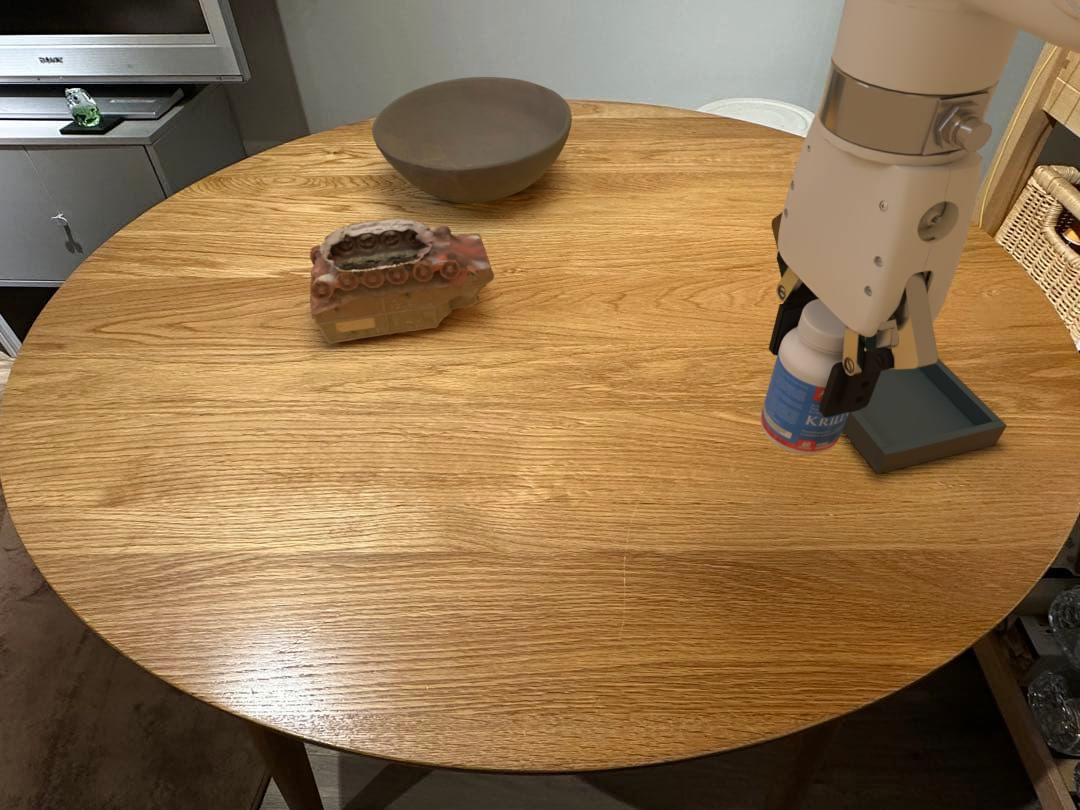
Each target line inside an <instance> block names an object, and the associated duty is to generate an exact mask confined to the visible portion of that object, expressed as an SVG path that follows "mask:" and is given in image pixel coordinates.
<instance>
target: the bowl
mask: <svg viewBox="0 0 1080 810" xmlns="http://www.w3.org/2000/svg"><path fill="white" fill-rule="evenodd" d="M572 122H573V116H572V109H571V107H570V105H569V104H568V102H567V101H566V99H565V98H563V97H562V96H561V95H560V94H559V93H557V92H556V91H555V90H552V89H550V88H548V87H545V86H543V85H539V84H537V83H534V82H531V81H527V80H523V79H518V78H510V77H501V76H500V77H498V76H471V77H460V78H459V77H458V78H453V79H447V80H443V81H439V82H436V83H431V84H427V85H425V86H422V87H419V88H416V89H413V90H411V91H409V92H407V93H405V94H403V95H401V96H399V97H397V99H394V100H393V101H391V103H389V104H388V105H387V106H386V107H384V109H382V111H380V112H379V114H378V115H377V116H376V118H375V119H374V121H373V123H372V127H371V134H372V138H373V140H374V143H375V145H376V147H377V149H378V150H379V152H380V153H381V155H382V156H383V158H384V159H385V161H387V163H388V164H389V165H390V166H391V167H392V168H393V169H394V170H395V171H396V172H397V173H398V174H399V175H400V176H401V177H402V178H403V179H405V180H406V181H407V182H408V183H410V184H411V185H413V186H414V187H416V188H417V189H419V190H422V191H423V192H425V193H427V194H429V195H431V196H434V197H437V198H439V199H441V200H445V201H448V202H452V203H455V204H465V205H466V204H467V205H469V204H471V205H472V204H474V205H475V204H483V203H488V202H493V201H498V200H501V199H505V198H508V197H510V196H513V195H516V194H517V193H520V192H522V191H524V190H525V189H527V188H528V187H530V186H531V185H533V184H535V183H536V182H537V181H538V180H539V179H540V178H541V177H542V176H543V175H545V173H546V172H547V171H548V170H549V169H550V168H551V167H552V165H553V164H554V163H555V162H556V161H557V159H558V157H559V156H560V155H561V153H562V152H563V149H564V147H565V146H566V144H567V141H568V139H569V135H570V131H571V128H572Z"/></svg>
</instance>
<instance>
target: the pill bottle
mask: <svg viewBox="0 0 1080 810" xmlns="http://www.w3.org/2000/svg"><path fill="white" fill-rule="evenodd" d="M844 332H845V324H844V323H843V322H842V321H841V320H840V319H839V318H838V317H837V316H836V315H835V314H834V313H833V312H832V311H831V310H830V309H829V308H828V307H827V306H826V305H825V304H824V303H823V302H822V301H821V300H820V299H816V300H813V301H811V302H809V303H808V304H807V305H806V306H805V307H804V309H803V311H802V314H801V317H800V321H799V324H798V327H796V328H794V329H792V330H791V331H790V332H788V333H787V334H786V335H785V337H784V338H783V340H782V342H781V345H780V348H779V352H778V355H776V358H775V362H774V366H773V370H772V373H771V377H770V380H769V384H768V387H767V391H766V395H765V399H764V401H763V405H762V410H761V414H760V427H761V429H762V431H763V433H764V435H765V436H766V438H767V439H768V440H769V441H770V442H771V443H773V445H775V446H776V447H778V448H780V449H781V450H784V451H787V452H789V453H792V454H795V455H803V456H811V455H819V454H823V453H825V452H828V451H829V450H831V449H833V448H834V446H836V445H837V444H838V441H839V440H840V438H841V435H842V433H843V428H844V425H845V423H846V420H847V417H848V415H849V412H847V413H843V414H839V415H835V416H831V417H824V416H823V415H822V413H821V412H820V411H819V408H820V407H819V406H820V403H821V400H822V397H823V394H824V391H825V387H826V384H827V381H828V378H829V375H830V372H831V369H832V367H833V365H834V364H836V363H839V362H843V347H844ZM865 351H866V349H865Z"/></svg>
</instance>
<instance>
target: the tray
mask: <svg viewBox="0 0 1080 810" xmlns="http://www.w3.org/2000/svg"><path fill="white" fill-rule="evenodd" d="M876 341H877V332H876V334H875V335H874V336H872V337H866V340H865V349H866V351H867V350H871V349H876ZM898 343H899V341H898ZM1007 427H1008V425H1007V424H1006V423H1005V422H1004V421H1003V420H1002V419H1001V418H1000V417H999V416H998V415H997V414H996V413H995V412H994V411H993V410H992V409H991V408H990V406H989V407H988V405H987V404H986V403H985V402H984V401H983V400H982V399H981V398H979V396H978V395H977V394H976V393H975V392H974V391H973V390H971V388H969V387H968V385H966V384H965V383H964V382H963V381H962V380H961V378H960V377H958V376H957V374H955V373H954V372H953V371H952V370H951V369H950V368H949V367H948V366H947V365H946V364H945V363H944V362H943V361H942V360H941V359H940V358H939V357H938V360H937V362H936V363H935V364H932V365H928V366H924V367H920V368H915V369H898V370H895V369H888V370H884V371H881V373H880V376H879V378H878V381H877V384H876V386H875V389H874V391H873V394H872V396H871V399H870V402H869V404H868V405H867V406H866V407H865V408H863V409H861V410H858V411H854V412H849V415H848V417H847V420H846V423H845V425H844V428H843V430H842V433H844V434H845V436H846V437H847V438H848V439H849V441H850V442H851V444H853V446H854V447H855V448H856V449H857V451H858V452H859V453H860V455H861V456H862V457H863V458H864V459H865V460H866V462H867V463H868V464H869V466H870V467H871V468H872V470H874V472H875V473H876V474H877V475H879V474H883V473H887V472H891V471H895V470H899V469H903V468H907V467H911V466H916V465H919V464H924V463H929V462H931V461H935V460H936V461H937V460H940V459H944V458H947V457H952V456H955V455H960V454H963V453H967V452H968V453H969V452H972V451H976V450H981V449H983V448H984V449H985V448H988V447H991V446H992V447H993V446H996V445H997V443H998V441H999V440H1000V438H1001V437H1002V435H1003V433H1004V432H1005V430H1006V428H1007Z"/></svg>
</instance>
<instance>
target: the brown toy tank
mask: <svg viewBox="0 0 1080 810" xmlns="http://www.w3.org/2000/svg"><path fill="white" fill-rule="evenodd" d="M323 241H324V242H322V243H321V244H317V245H315V246H313V247H311V248H310V252H309V259H310V261H311V263H312V268H311V269H310V285H309V286H310V290H309V292H310V296H309V302H310V304H309V305H310V314H311V315H310V316H311V319H312V320H314V322H315V324H316V325H317V327H318V328H319V330H320V332H321V333H322V334H323V338H324V340H325V341H326V342H327V343H328V344H330V345H332V344H335V343H341V342H348V341H355V340H359V339H365V338H373V337H379V336H384V335H385V336H386V335H388V336H389V335H392V334H399V333H406V332H414V331H420V330H427V329H428V330H429V329H434V328H436V329H437V328H438V327H439V326H440V323H441V322H442V320H443V319H444V318H447V317H448V316H449V315H450V314H452V312H453V310H456V309H463V308H469V307H471V306H474V305H475V304H476V303H477V302H478V301H480V296H479V294H480V292H481V291H482V289H483V288H485V287H487V285H488V284H490V283H491V282H492V281H494V278H495V274H494V271H493V269H492V265H491V263H490V259H489V256H488V254H487V251H486V250H487V249H486V248H485V246H484V242H483V239H482V235H480V233H467V234H466V233H465V234H458V235H454V234H452V229H450V227H449V226H448V225H447V224H440V225H437V226H430V227H429V226H427V225H425V223H424V222H420V221H418V220H415V219H409V218H406V217H405V218H402V217H391V218H380V219H376V220H364V221H360V222H355V223H352V224H349V225H343V226H342V227H339V228H338V229H335V230H334V231H331V232H330V233H329V234H328V235H326V236H325V237H324V240H323Z"/></svg>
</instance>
